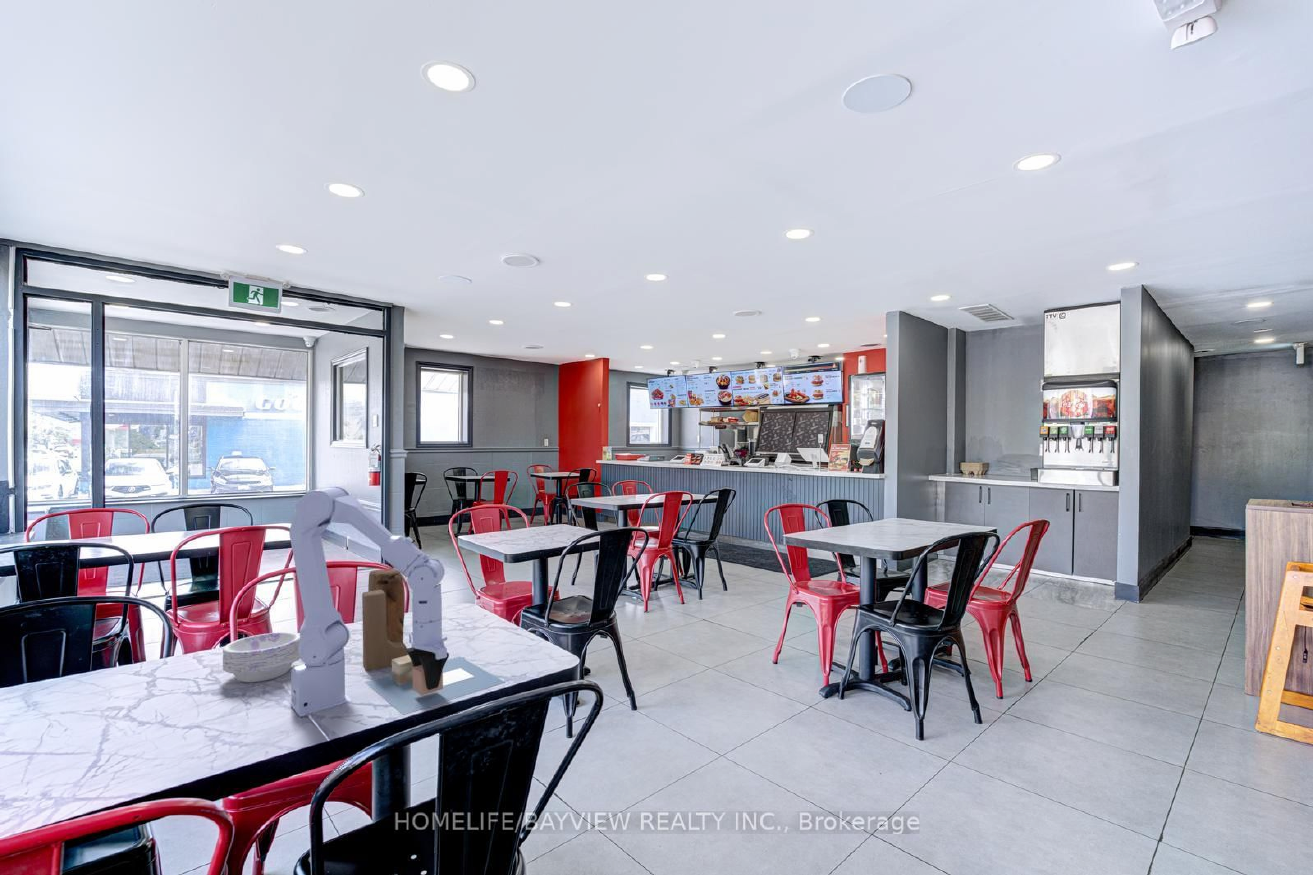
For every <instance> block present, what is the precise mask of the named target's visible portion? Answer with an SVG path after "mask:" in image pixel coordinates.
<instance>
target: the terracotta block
mask: <svg viewBox="0 0 1313 875" xmlns="http://www.w3.org/2000/svg"><path fill="white" fill-rule="evenodd" d="M412 670H413V690H415V691H416V692H417V693H419V694H420V695H421V696H422V695H425V694H428V693H432V692H435V691H438V690H442V689H443V670H442V674H441V678H440V682H439V686H438V688H434V689H431V690H428V689H427V686H426V681H425V674H424V669H423V666H422V665H419V666H415V667H412Z"/></svg>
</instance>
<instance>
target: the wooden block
mask: <svg viewBox="0 0 1313 875" xmlns="http://www.w3.org/2000/svg"><path fill="white" fill-rule="evenodd" d="M361 598H362V599H361V600H362V601H361V602H362V604H361V607H362V608H361V609H362V661H363V662H362V667H363V669H364V670H365V672H369V671H370V672H371V671H375V670H380V669H384V668H390V667H392V659H395V658H399V657H403V656H407V655H408V653H407V652H406V650H407V649H408V648H407V647H408V646H406V644H405V643H404V641H403V642H391V641H389V640H388V638H387V635H386V594H385V592H384V591H383V590H376V591H363V592H362V593H361Z"/></svg>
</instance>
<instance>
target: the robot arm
mask: <svg viewBox="0 0 1313 875" xmlns="http://www.w3.org/2000/svg"><path fill="white" fill-rule="evenodd" d="M294 506H295V507H294V508H295V512H294V516H293V519H292V521H291V525H290V528H289V540H290V544H291V549H292V554H293V562H294V567H295V571H296V572H295V573H296V577H297V582H298V589H299V593H300V598H301V602H302V603H301V604H302V608H303V614H304V619H303V622H302V624H301V626H300V629H299V635H300V643H299V646H298V654H299V657H300V659H299V660H300V661H302V662H303V663H302V664H300V665H297V666H294V667H292V668H291V671H290V672H291V673H290V676H291V677H290V680H291V681H290V689H291V690H290V693H291V695H290V697H291V698H290V707H292V708H293V710H294V711H295V713H296V714H297V715H298V716H299V718H300V717H306V716H309V715H310V714H311V713H314V712H317V711H321V710H324V709H325V710H326V709H328V708H331V707H334V706H338V705H342V704H345V703H349V702H352V701H353V699H351V697H350V696H348V695H347V693H346V672H345V671H346V670H345V669H346V666H345V661H346V660H345V649H344V647H346V645H347V644H348V642H349V641H350V636H351V634H350V630H349V628H348V626H347V625H346V624H345V622H344V620H343V616H342V613H340V612H339V611H338V610H337V609H336V608H335V605H334V599H333V594H332V589H331V584H330V578H329V573H328V567H327V563H326V556H325V551H324V547H323V546H324V544H323V541H322V534H323V533H324V532H325V530H327V528H328V527H329V526H330V525H331V524H332V523H333V524H334V523H337V524H349V525H351V526H352V527H353V528H354V529H355V530H357V531H359V532H360V533H361V534H363V535H364V536H365V537H366V538H367V539H369V540H370V541H371V542H373V543H374V544H376V546H379V547H380V552H381V553H380V554H381V557H382V559H384V560H385V561H386V562H387V563H389V564H390V566H392V567H393V568H394V569H395V570H397V571H399V572H400V573H401V575H402V576H404V577H406V578H407V579H406V582H407V585H408V586H409V588H410V589H411V590H412V599H411V602H412V604H411V606H412V607H411V609H412V613H411V614H412V620H411V621H412V624H411V625H412V627H411V628H412V632H410V633H408V634H409V635H408V639H409V640H408V641H409V643H410V644H411V647H408V648H407V650H406V652H407V655H409V657H410V659H411V661H412V664H413V667H415V666H419V665H422V666H423V669H424V674H425V681H426V686H427V689H428V690H431V689H434V688H438V686H439V682H440V678H441V674H442V670H443V667H444V665H445V663H446V661H447V660H449V656H450V653H449V652H448V648H447V647H446V646H445V642H446V641H448V636H447V635H444V634H443V622H442V621H443V616H442V614H443V607H442V604H443V603H442V599H443V598H442V583H441V582H442V580H443V578H444V576H445V568H444V566H443V564H442V563H441V561H440V560H439V559H438V558H434V557H431V555H429V554H428V553H424V552H423V551H422V550H421V549H419V547H417V546H416V545H415V544H414V543H413V542H414V539H412V538H411V537H410V536H407V537H405V536H404V535H394V534H393V533H392V532H390V531H389V530H388V529H387V528H386V527H385V526H384V524H382V523H381V522H380V521H379V520H378V519H377V517H375V516H374V514H372V513H371V512H370V511H369V510H368V509H367V508H365V506H363V505H362V504H361V502H360V500H358V499H357V497H355V496H354V495H352V494H350V493H349V492H348V490H346V489H345V488H343V487H342V486H330V487H327V488H323V489H313V490H310V491H307V492H305V494H304V495H303V496H302V497H300V498H299V500H298V501H297V502H296V503H294Z"/></svg>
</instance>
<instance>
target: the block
mask: <svg viewBox="0 0 1313 875" xmlns="http://www.w3.org/2000/svg"><path fill="white" fill-rule="evenodd" d="M404 584H405V583H404V580H403V574H402V573H400V572H399V571H398V570H397V569H396V568H389V569H374V570H370V572H369V574H368V585H367V587H368V589H367V590H368V591H376V590H383V591H384V592H385V594H386V635H387V638H388V640H389V641H391V642H403V643H404V625H405V624H404V623H405V614H406V612H405V609H406V607H405V606H406V605H405V604H406V603H405V602H406V600H405V598H406V597H405V585H404ZM368 591H367V592H368Z"/></svg>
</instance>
